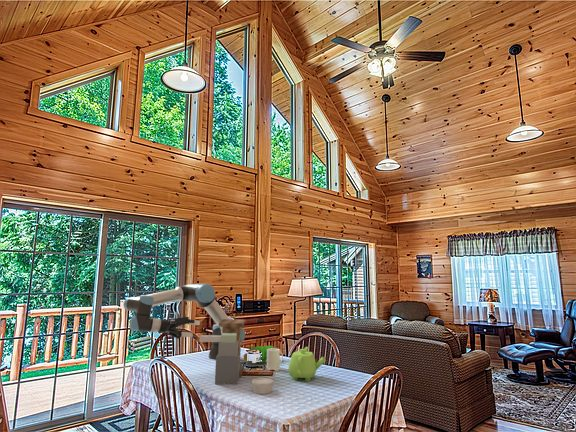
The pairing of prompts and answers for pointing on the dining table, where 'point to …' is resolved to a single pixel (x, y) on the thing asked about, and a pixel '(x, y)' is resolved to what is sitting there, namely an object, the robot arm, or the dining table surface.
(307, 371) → the teapot
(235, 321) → the walnut stand
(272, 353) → the mug
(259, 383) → the ramekin
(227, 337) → the handled block
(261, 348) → the decorative tree
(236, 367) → the stepped grey block
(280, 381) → the dining table surface
